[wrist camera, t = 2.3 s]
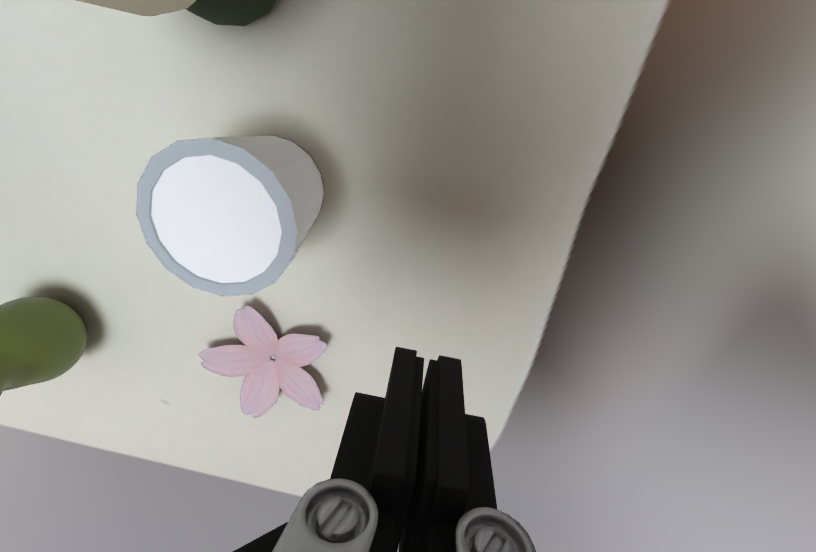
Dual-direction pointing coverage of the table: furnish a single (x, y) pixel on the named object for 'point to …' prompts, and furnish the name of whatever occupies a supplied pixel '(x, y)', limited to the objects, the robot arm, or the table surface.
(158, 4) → the character mug
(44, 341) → the pear
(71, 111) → the table surface
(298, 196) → the white short cylinder
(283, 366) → the flower
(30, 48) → the table surface
